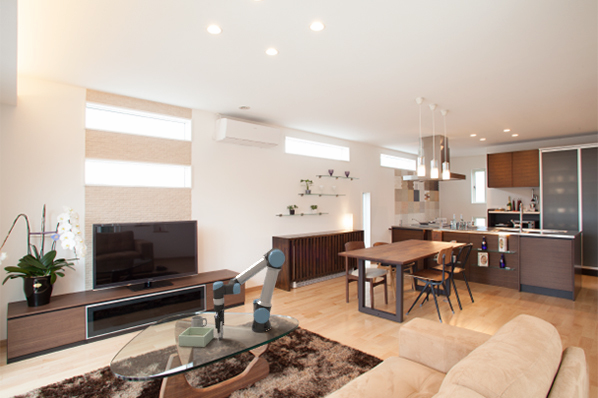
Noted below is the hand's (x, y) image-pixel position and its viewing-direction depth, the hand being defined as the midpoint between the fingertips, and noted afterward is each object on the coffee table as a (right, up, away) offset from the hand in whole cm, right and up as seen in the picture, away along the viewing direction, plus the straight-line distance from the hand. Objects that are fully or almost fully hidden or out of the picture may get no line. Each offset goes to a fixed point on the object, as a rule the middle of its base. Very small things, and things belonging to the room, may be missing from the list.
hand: (220, 335), depth 241 cm
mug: (-20, -3, +16) cm, 26 cm away
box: (-16, -3, -3) cm, 17 cm away
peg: (0, -2, 0) cm, 2 cm away
